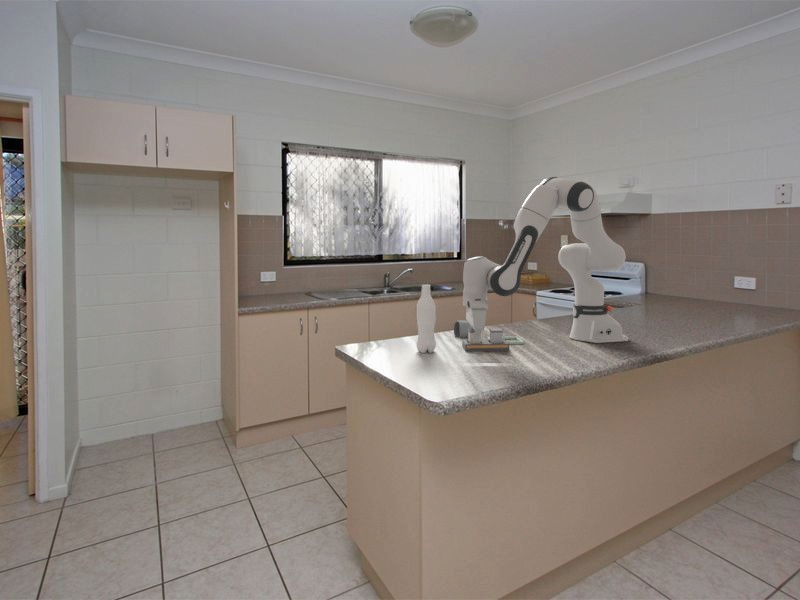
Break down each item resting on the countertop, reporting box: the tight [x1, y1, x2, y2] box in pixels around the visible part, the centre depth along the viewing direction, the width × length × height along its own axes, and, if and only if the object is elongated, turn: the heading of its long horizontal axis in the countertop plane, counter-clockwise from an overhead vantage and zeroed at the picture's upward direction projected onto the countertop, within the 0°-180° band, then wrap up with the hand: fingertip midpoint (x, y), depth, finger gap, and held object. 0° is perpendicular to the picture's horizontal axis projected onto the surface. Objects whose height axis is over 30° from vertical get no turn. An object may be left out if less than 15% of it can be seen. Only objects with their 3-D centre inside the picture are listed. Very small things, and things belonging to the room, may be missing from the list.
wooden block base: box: [461, 338, 510, 352], centre depth 183 cm, size 16×8×4 cm, turn 91°
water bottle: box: [415, 284, 437, 354], centre depth 182 cm, size 7×7×25 cm
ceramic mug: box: [453, 320, 470, 338], centre depth 207 cm, size 11×8×8 cm
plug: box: [467, 329, 482, 343], centre depth 183 cm, size 4×4×7 cm
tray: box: [487, 335, 525, 345], centre depth 195 cm, size 12×10×2 cm
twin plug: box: [489, 328, 504, 343], centre depth 183 cm, size 4×4×7 cm
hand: (474, 337), depth 183 cm, fingers open, 8 cm apart
